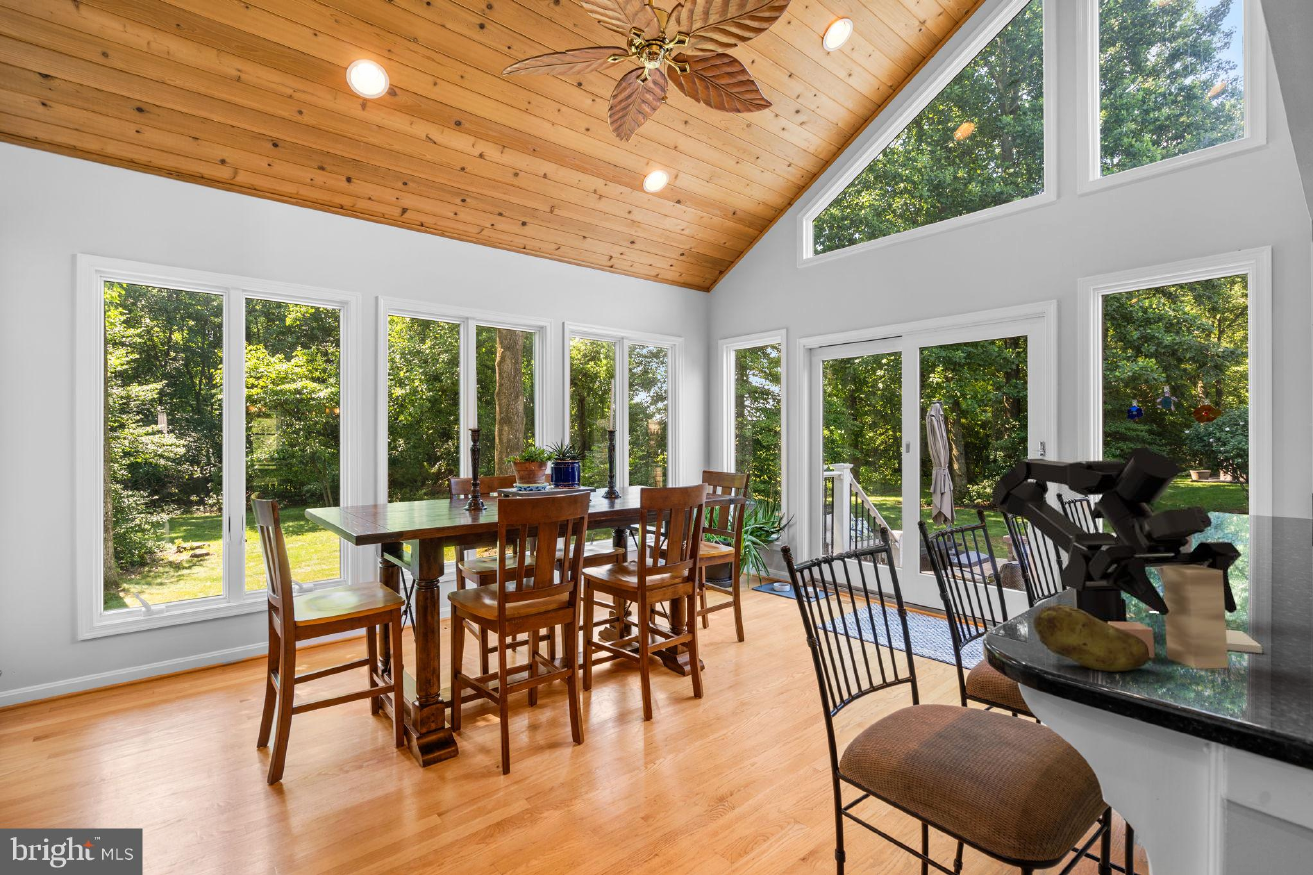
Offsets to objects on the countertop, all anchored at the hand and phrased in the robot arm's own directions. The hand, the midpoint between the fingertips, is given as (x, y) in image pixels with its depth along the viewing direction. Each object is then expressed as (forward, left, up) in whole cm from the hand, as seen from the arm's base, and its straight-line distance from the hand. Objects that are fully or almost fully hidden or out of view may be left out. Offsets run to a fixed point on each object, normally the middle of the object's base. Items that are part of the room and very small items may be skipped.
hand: (1200, 612), depth 85 cm
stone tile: (+5, +13, -7) cm, 15 cm away
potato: (-13, -6, -7) cm, 16 cm away
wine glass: (+3, +32, -7) cm, 33 cm away
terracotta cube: (-7, +3, -7) cm, 11 cm away
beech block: (0, +1, -7) cm, 7 cm away
